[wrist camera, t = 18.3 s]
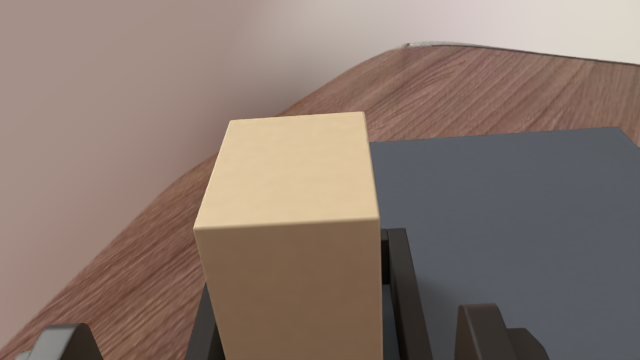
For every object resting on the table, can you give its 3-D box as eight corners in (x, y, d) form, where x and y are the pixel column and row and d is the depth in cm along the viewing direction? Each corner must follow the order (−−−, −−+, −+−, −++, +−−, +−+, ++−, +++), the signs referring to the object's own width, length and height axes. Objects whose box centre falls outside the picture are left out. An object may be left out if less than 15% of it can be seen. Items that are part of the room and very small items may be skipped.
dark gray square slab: (155, 564, 17) (115, 485, 14) (246, 176, 36) (235, 115, 34) (968, 541, 16) (1071, 450, 13) (610, 153, 35) (626, 89, 33)
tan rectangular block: (247, 448, 18) (191, 228, 13) (264, 312, 23) (229, 119, 18) (385, 443, 17) (380, 217, 13) (371, 307, 22) (364, 110, 18)
